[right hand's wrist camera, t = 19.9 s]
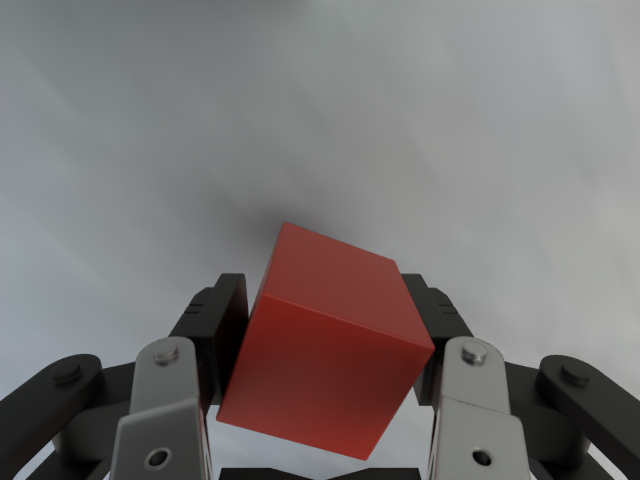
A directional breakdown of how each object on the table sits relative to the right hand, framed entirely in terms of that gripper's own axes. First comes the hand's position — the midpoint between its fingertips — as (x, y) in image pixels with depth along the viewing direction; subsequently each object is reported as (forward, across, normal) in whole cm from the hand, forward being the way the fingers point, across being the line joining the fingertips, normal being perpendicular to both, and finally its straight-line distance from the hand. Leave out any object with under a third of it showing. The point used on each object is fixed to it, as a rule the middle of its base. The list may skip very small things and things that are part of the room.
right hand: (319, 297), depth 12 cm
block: (+1, 0, 0) cm, 1 cm away
